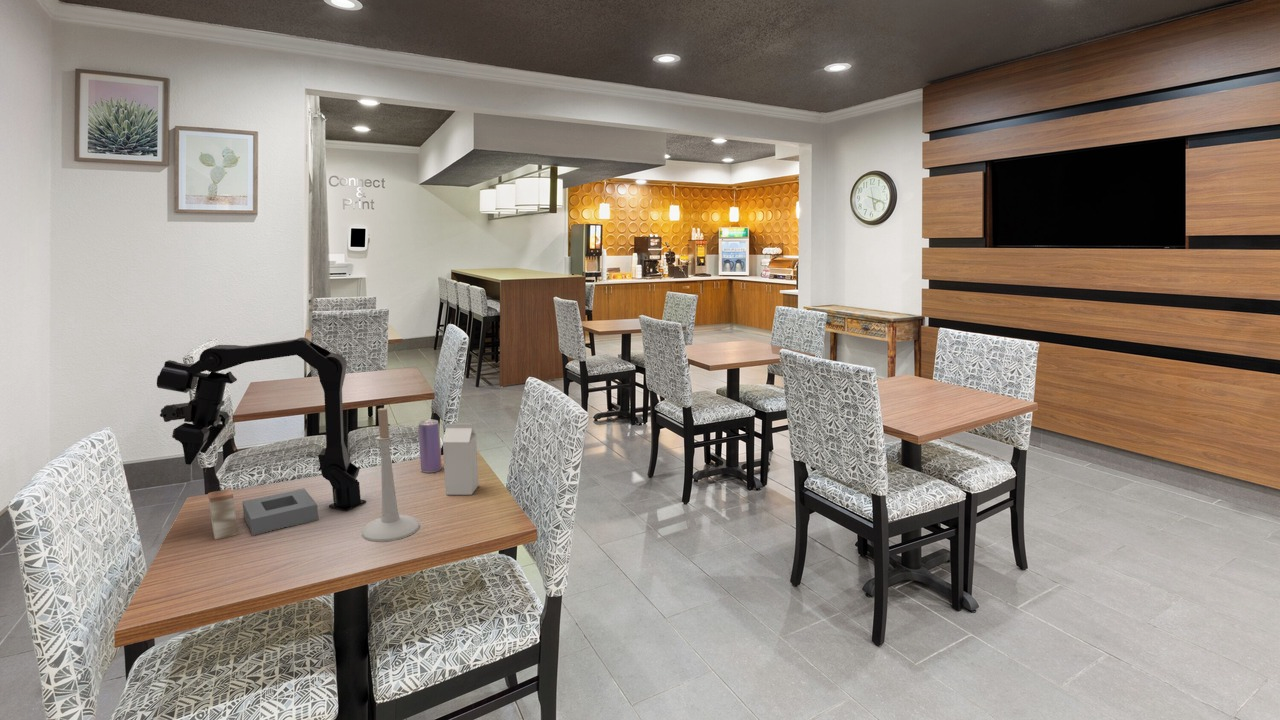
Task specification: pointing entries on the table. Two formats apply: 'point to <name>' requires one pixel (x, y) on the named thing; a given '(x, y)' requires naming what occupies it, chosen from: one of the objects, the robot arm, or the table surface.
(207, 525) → the table surface
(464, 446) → the milk carton
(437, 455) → the beverage can
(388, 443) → the candlestick
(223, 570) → the table surface
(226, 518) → the peg
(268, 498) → the socket block
